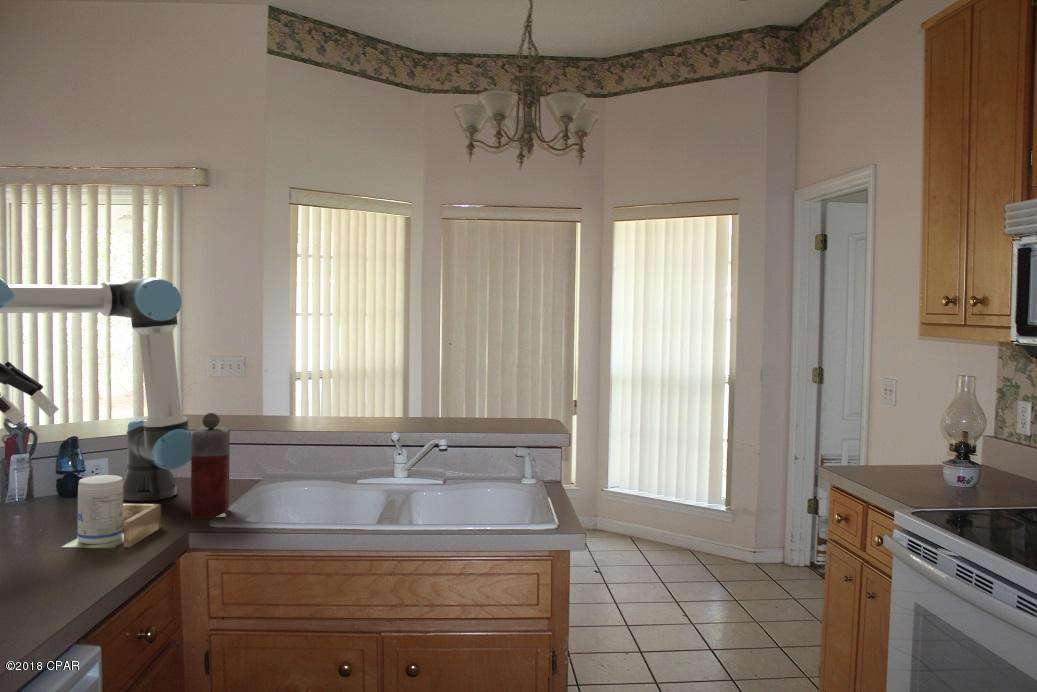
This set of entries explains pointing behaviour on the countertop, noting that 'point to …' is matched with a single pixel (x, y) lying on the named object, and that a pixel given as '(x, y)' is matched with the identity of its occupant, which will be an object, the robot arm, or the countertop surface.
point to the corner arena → (130, 526)
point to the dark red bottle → (210, 469)
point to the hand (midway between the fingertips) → (37, 416)
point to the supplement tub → (100, 509)
